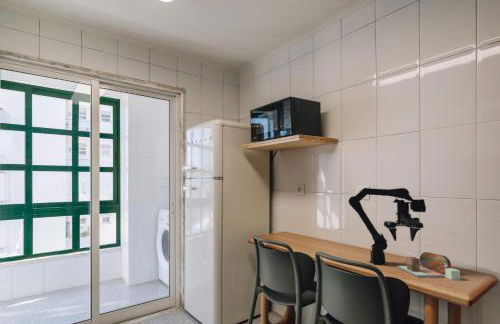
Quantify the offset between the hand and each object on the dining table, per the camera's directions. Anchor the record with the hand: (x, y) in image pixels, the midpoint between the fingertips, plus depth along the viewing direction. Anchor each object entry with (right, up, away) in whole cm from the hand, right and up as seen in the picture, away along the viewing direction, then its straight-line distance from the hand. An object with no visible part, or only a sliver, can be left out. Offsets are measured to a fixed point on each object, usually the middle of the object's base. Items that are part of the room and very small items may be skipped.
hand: (403, 241), depth 153 cm
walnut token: (-1, -11, -11) cm, 16 cm away
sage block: (+12, -12, -20) cm, 26 cm away
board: (+2, -12, -11) cm, 17 cm away
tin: (+12, -13, -8) cm, 19 cm away
